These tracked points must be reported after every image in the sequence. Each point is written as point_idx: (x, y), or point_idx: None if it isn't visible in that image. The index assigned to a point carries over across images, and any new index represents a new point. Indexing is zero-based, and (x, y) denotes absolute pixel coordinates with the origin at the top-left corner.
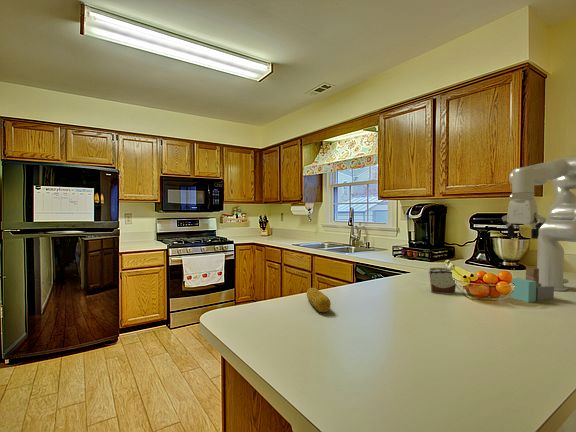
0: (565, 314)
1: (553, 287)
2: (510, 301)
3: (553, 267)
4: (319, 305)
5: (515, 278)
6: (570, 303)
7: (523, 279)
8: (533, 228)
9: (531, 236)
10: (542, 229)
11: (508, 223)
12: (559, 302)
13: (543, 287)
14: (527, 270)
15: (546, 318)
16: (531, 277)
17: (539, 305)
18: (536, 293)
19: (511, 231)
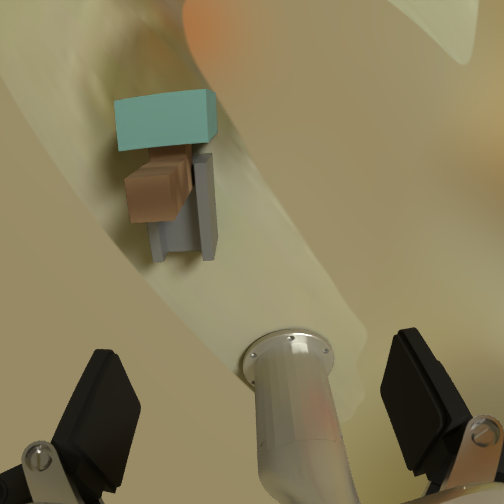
0: (32, 107)
1: (154, 257)
2: (171, 43)
3: (267, 408)
4: None
5: (197, 108)
6: (115, 240)
7: (167, 128)
8: (54, 451)
9: (107, 367)
10: None
11: (487, 473)
12: (127, 216)
13: None
14: (163, 171)
15: (24, 25)
16: (149, 165)
17: (108, 108)
18: None
19: (409, 402)
